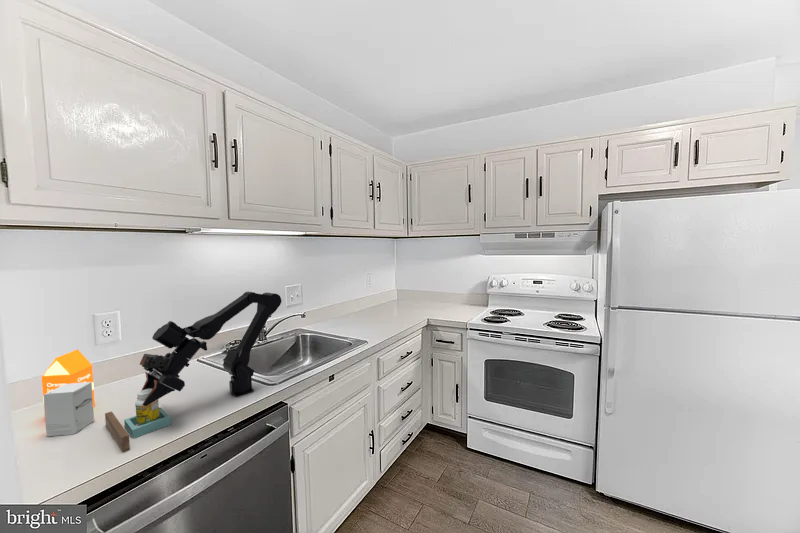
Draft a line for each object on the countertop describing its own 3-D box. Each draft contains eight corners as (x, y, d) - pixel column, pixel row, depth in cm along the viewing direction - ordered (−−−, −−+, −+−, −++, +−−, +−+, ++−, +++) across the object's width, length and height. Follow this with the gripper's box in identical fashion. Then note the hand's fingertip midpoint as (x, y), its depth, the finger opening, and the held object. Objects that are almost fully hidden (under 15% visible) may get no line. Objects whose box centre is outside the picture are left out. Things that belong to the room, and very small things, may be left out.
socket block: (161, 414, 102) (160, 407, 102) (170, 424, 96) (170, 416, 96) (124, 427, 95) (124, 419, 95) (132, 438, 89) (132, 430, 89)
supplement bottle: (164, 417, 98) (162, 387, 97) (149, 427, 93) (147, 395, 92) (147, 417, 98) (145, 387, 98) (132, 427, 93) (129, 395, 92)
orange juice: (44, 422, 98) (39, 359, 96) (69, 408, 106) (64, 349, 105) (73, 420, 99) (69, 357, 98) (95, 406, 108) (91, 348, 106)
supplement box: (75, 434, 91) (72, 392, 91) (45, 437, 90) (41, 394, 89) (95, 420, 99) (92, 381, 98) (67, 422, 97) (64, 383, 97)
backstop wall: (112, 423, 97) (111, 411, 96) (129, 449, 84) (128, 435, 84) (105, 426, 96) (105, 413, 95) (122, 452, 83) (121, 437, 83)
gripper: (149, 337, 103) (107, 382, 95) (169, 348, 91) (122, 401, 83) (179, 354, 110) (141, 397, 102) (201, 366, 98) (160, 416, 90)
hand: (141, 402), depth 94 cm, fingers closed on supplement bottle, 5 cm apart
